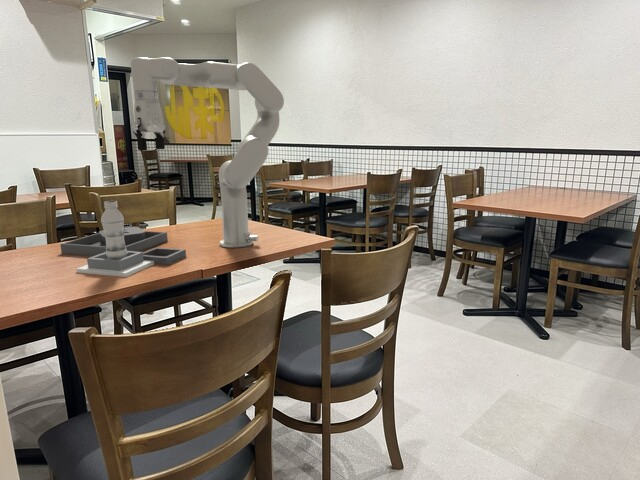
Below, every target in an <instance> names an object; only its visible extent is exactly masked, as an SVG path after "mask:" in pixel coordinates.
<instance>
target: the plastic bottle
mask: <svg viewBox="0 0 640 480" xmlns="http://www.w3.org/2000/svg"><path fill="white" fill-rule="evenodd" d="M103 204H104V206H103V209H105V210H104V212H102V214H101V217H100V222H101V225H102V228H103V230H104V234H105V239H106V259H113V260H120V259H123V258H125V257H128V252H127V249H126V245H125V240H124V230H123V229H124V228H125V226H124V225H125V223H124V221H125V219H124V215H123V214H122V213H121V211H119V209H118V207H119V206H118V200H107V201H104V202H103Z"/></svg>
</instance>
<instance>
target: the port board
mask: <svg viewBox="0 0 640 480" xmlns="http://www.w3.org/2000/svg"><path fill="white" fill-rule="evenodd" d="M127 252H128V257H125V258H123V259H120V260H113V259H106V252H104V253H102V254H99V255H96V256H89V257H88V258H86V262H87V264H85V265H82V266H80V267H78V268H76V273H78V274H79V273H80V274H91V275H100V276H101V275H102V276H112V277H122V278H128V277H129V276H131V275H133V274H135V273H138V272H141V271H142V270H145V269H147V268H150V267H151V266H154V265H155V264H154V261H151V260H144V258H143V252H144V251H141V252H134V251H127Z"/></svg>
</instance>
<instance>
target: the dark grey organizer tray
mask: <svg viewBox="0 0 640 480" xmlns="http://www.w3.org/2000/svg"><path fill="white" fill-rule="evenodd" d="M144 231H145V238H146V239H144V240H141V241H138V242H136V243H133V244H130V245H127V246H126V249H127V251H134V252H144V251H147V250H149V249H152V248H153V247H156V246H158V245H160V244H164V243H166V242H169V241H168V240H169V239H168V232H166V231H151V230H150V231H148V230H144ZM59 244H60V253H61V254H63V255H65V254H66V255H74V256H75V255H78V256H89V257H93V256H96V255H99V254H102V253H104V252H106V246H101V245H100V238H99V232H96V233H94V234H91V235H87V236H83V237H80V238H76V239H72V240H70V241H67V242H62V243H59Z"/></svg>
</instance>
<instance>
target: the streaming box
mask: <svg viewBox="0 0 640 480" xmlns="http://www.w3.org/2000/svg"><path fill="white" fill-rule="evenodd" d="M123 230H124V240H125V245H126V246H127V245H130V244H133V243H136V242H138V241H141V240H144V239H146V238H145V231H146V230H144V229H143V228H140V227H139V226H127V227H124V229H123ZM98 233H99V238H100V245H101V246H106V239H105V234H104V229H103V230H99V231H98Z"/></svg>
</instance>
